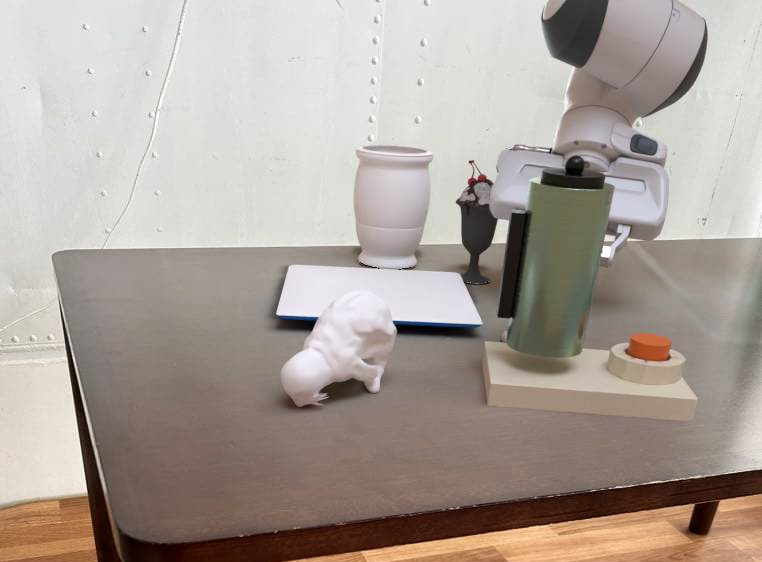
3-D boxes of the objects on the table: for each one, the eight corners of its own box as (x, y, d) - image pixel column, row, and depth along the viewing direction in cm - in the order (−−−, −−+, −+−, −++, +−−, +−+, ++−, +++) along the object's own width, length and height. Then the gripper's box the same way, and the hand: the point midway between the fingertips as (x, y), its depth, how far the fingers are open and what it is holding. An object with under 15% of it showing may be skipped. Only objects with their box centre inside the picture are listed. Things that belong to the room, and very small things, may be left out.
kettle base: (660, 375, 82) (670, 336, 80) (691, 422, 72) (704, 379, 70) (481, 362, 83) (487, 323, 81) (487, 406, 73) (493, 363, 71)
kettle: (573, 329, 81) (607, 150, 72) (587, 361, 72) (627, 163, 64) (490, 323, 81) (514, 144, 73) (495, 354, 73) (523, 156, 64)
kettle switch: (662, 353, 77) (666, 334, 76) (671, 365, 74) (676, 346, 73) (623, 350, 77) (627, 331, 76) (630, 362, 74) (635, 343, 73)
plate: (481, 341, 89) (483, 322, 88) (275, 331, 88) (275, 312, 87) (458, 287, 108) (460, 271, 107) (289, 279, 107) (289, 263, 106)
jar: (434, 262, 120) (444, 150, 112) (408, 276, 112) (417, 156, 104) (368, 252, 124) (374, 142, 116) (338, 265, 115) (342, 148, 108)
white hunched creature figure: (404, 291, 71) (312, 333, 64) (402, 382, 76) (317, 430, 69) (348, 277, 74) (255, 315, 67) (350, 365, 79) (263, 409, 72)
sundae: (437, 277, 112) (449, 158, 104) (470, 271, 116) (484, 156, 108) (472, 288, 108) (487, 165, 100) (506, 282, 112) (523, 162, 104)
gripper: (503, 124, 96) (475, 228, 94) (682, 147, 92) (658, 256, 90) (501, 159, 102) (476, 258, 100) (669, 182, 98) (647, 286, 96)
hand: (564, 258), depth 95 cm, fingers open, 8 cm apart
